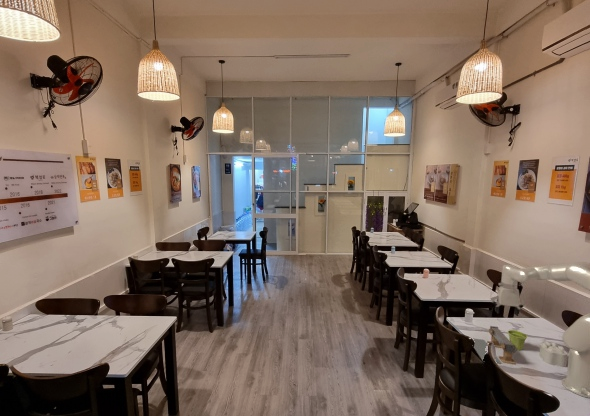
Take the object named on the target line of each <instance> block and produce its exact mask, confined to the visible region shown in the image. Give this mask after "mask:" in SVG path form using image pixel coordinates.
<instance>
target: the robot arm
mask: <svg viewBox="0 0 590 416" xmlns="http://www.w3.org/2000/svg"><path fill="white" fill-rule="evenodd" d="M547 280H548V281H551V280H552V281H554V282H557V283H558V282H573V283H575V284H577V285H578V286H580V287H582V288H584V289H585V290H588V292H589V291H590V262H586V261H585V262H584V261H581V262H580V261H579V262H569V263H559V264H550V265H541V266H529V267H525V268H519V267H518V266H516V265H513V264H503V265H502V271H501V280H500V282H498V286H499V288H498V291H497V295H495V296H493V297H491V298H490V301H491V303H492V304H493V305H494V306H495V307H494V311H495V313H497V314H500V306H504V307H505V306H506V307H507V306H508V307H513V308H514V311H513V312H514V313H513V314H514V315H515V316H517V317H519V314H520V310H521V309H522V308H524V306H525V305H526V302H525V301H524V300H522V299H520V290H519V289H518V282H519V283H521V284H524V283H526V284H527V283H530V282H534V281H535V282H537V281H547ZM495 300H496V302H495ZM561 337H562V338H561V339H562V341H563V344H564V345H565V346H566V347H567V348H569V351H568V358H567V361H568V362H567V371H566V373H567V374H566V377H564V378H562V379H561V384H562V385H563V387H565V388H566V389H567V390H568V391H570V392H572V393H573V394H576V395H578V396H581V397H584V398H588V399H590V312H588V313H587V314H584V315H582V316H580V317H579V318H578V319H576V320H575V321H574V322H573V323H572V324H571V325H570V326H569V327H568V328H567V329H566V330H565V331H564V332H563V333H562V336H561Z"/></svg>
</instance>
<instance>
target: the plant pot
mask: <svg viewBox="0 0 590 416" xmlns="http://www.w3.org/2000/svg"><path fill="white" fill-rule="evenodd" d="M507 334H508V337H509V338H508V340H509V341H510V342H511V343H512V344H513V345H515V347H516V351H517V350H518V351H521V350H522V351H523V350H524V346H525V345H524V344H525V342H526V339H527V338H528V336H527V334H526V333H523V332H522V331H519V330H514V329H513V330H512V329H510V330H507Z"/></svg>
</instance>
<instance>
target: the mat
mask: <svg viewBox="0 0 590 416" xmlns="http://www.w3.org/2000/svg"><path fill="white" fill-rule="evenodd" d="M473 339H474V341H475V346H474V347H473V348H474V350H475V352H476V353H477V354H478V356H479V358H480V359H481V360H482V361H483V359H484V355H485V353H486V352H487V351H485V348H486V346H489V344H488V343H487V341H485V339H480V338H474V337H473ZM495 359H496V362H497V363H496V364H502V361H501V360H500V358H499V357H498V356H497V355H496V357H495Z"/></svg>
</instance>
